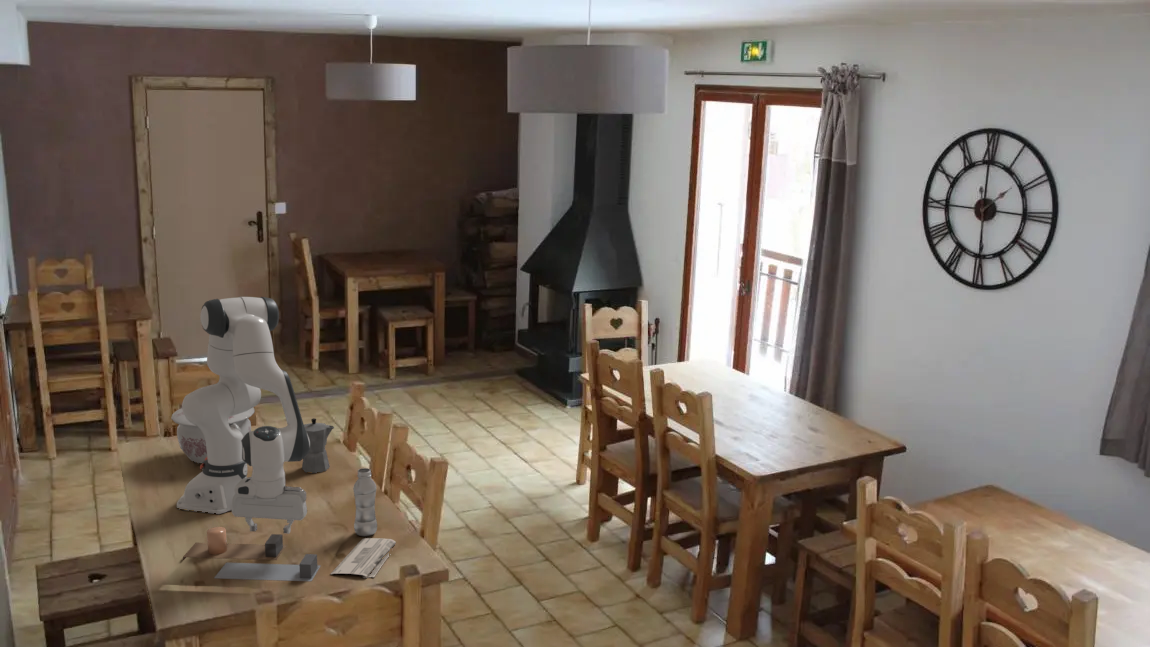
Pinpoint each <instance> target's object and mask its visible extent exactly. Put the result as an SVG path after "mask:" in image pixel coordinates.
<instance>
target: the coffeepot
mask: <svg viewBox="0 0 1150 647" xmlns="http://www.w3.org/2000/svg"><path fill="white" fill-rule="evenodd" d="M303 424H304V427H305V429H306V432H307V434H308V437H309V440H310V451H309V453H308V454H307V455H306V456H305V457H304V458H303V459H302V464H301V465H302V466H301V469H302V471H303V470H304V471H303V472H304V473H307V472H312V473H311V474H318V473H317V472H320V473H324V472H326V471H328V470H329V469H330V462H329V457H328V453H327V450H326V445H327V440H328V437H329V435H330V433H331V432H332V431H333V430H334V429H335V426H333V425H331V424H327V423H323V422H317V418H311V422H310V423H303ZM327 469H328V470H327ZM323 471H324V472H323Z"/></svg>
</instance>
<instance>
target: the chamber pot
mask: <svg viewBox="0 0 1150 647" xmlns="http://www.w3.org/2000/svg"><path fill="white" fill-rule="evenodd" d="M254 414H255V408H254V407H253V408H251V409H250V410H248V411H246V412H243V413H240V414H237V415H234V416H230V417H229V418H228V423H229V426H230V427H232V428H235V429H237V430H239V431H240V432H241V433H242V435H243V437H244V436H245V435H246V434H247V433H248V432H251V431H252V423H251V422H252V421H251V420H250V419H249V418H250V417H252V416H253V415H254ZM170 419H171V420H172V422H174V423H175V424H177V427H176V428H177V429H176V436H177V437H176V438H177V441H178V444H179V447H180V449H181V450H182V451H183V453H184V454H185V455H186V457H187V458H188V459H189V460H190V461H192V462H193V461H194V462H193V463H196V462H197V463H196V464H199V463H202V462H203V461H205V458H206V457H207V449H206V442H205V438H204V435H203V433H202V431H201V430H200V428H199V427H197V426H196V425H194V424H192V423H191V422H189V421H188V420H187V419H186V418H185V416H184V414H183V411H182V407H181V408H179V409H177V410H176V411H174V412H173V413H172V414H171V418H170Z"/></svg>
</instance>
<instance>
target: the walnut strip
mask: <svg viewBox="0 0 1150 647" xmlns="http://www.w3.org/2000/svg"><path fill="white" fill-rule="evenodd" d="M283 540H284V539H283V534H277V533H276V534H275V533H272V534H271V535H270V536H269V537H268V539H267V540H266V542H265V543H264V544H256V543H255V544H253V543H249V544H248V543H227V551H226V552H224V553H222V554H216V555H214V554H210V553H208V542H195V543H194V544H193V545H192V546H191V547H190V548H189V550H187V552H186V553H185V554H184V555H182V556H183V557H182V561H183V560H184V561H185V559H187V558H197V559H198V558H200V559H202V558H203V559H205V558H206V559H229V560H231V559H234V560H235V559H237V560H260V561H261V560H266V561H267V560H269V561H277V560H278V559H279V557H280V556H281V554H282V553H283V551H284V550H285V549H286V547H287V544H286V545H285V544H284V541H283Z"/></svg>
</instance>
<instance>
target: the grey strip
mask: <svg viewBox="0 0 1150 647" xmlns="http://www.w3.org/2000/svg"><path fill="white" fill-rule="evenodd" d="M320 568H321V565H319V564H318V554H317V553H316V554H315V553H314V554H313V553H306V554H305V555H304V556H303V558H302V560H301V561H300V562H299V564H284V563H258V562H257V563H255V562H252V563H251V562H226V563H224V565H223V566H222V567H221V569H220V570H219V571H218V572H217V574H216V575H215V576H214V577H213V579H226V580H227V579H228V580H254V581H257V580H258V581H260V580H261V581H288V582H291V581H293V582H312V581H313V579H314V578H315V577H316V574H317V573H318V572H319V571H320V570H319V569H320Z"/></svg>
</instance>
